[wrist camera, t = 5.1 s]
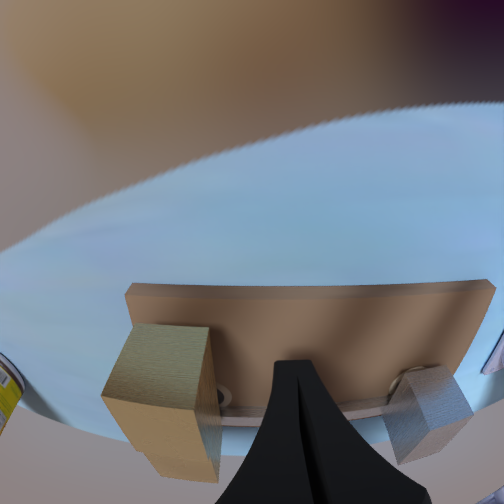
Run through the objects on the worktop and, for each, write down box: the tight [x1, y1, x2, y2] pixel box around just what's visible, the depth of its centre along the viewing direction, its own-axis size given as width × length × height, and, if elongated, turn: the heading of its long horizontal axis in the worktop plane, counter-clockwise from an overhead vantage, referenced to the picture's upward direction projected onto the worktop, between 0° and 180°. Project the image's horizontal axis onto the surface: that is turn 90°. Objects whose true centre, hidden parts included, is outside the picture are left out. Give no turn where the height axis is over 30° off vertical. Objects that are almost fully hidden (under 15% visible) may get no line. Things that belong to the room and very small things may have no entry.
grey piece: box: [219, 365, 474, 465], centre depth 12 cm, size 16×4×5 cm, turn 90°
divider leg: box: [101, 323, 223, 483], centre depth 11 cm, size 3×8×5 cm, turn 0°
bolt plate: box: [125, 279, 496, 427], centre depth 14 cm, size 19×10×1 cm, turn 90°
